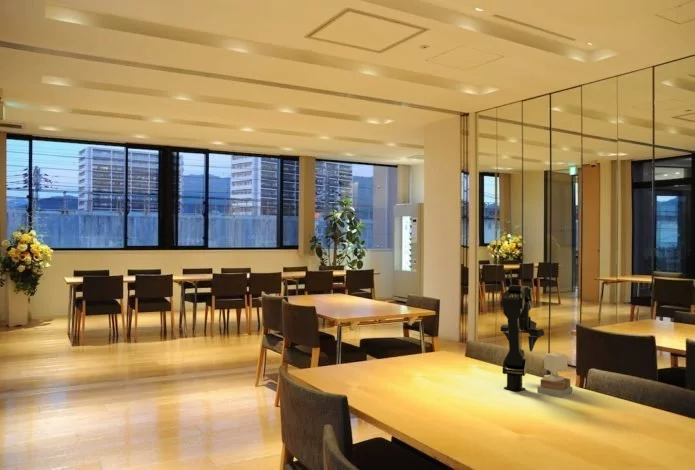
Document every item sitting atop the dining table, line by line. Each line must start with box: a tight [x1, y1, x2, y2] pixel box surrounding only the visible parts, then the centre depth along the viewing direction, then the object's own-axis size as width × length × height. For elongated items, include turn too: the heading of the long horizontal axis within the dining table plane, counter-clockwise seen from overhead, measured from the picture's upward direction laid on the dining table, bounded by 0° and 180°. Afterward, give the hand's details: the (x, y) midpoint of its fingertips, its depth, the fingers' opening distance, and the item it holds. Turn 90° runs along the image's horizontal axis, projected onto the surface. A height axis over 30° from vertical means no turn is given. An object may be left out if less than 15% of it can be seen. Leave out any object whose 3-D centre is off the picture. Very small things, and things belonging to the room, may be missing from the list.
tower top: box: [540, 377, 571, 391], centre depth 230 cm, size 9×9×3 cm
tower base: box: [536, 384, 574, 398], centre depth 230 cm, size 10×10×3 cm
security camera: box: [543, 352, 568, 382], centre depth 230 cm, size 6×7×10 cm
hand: (521, 349), depth 251 cm, fingers open, 9 cm apart
